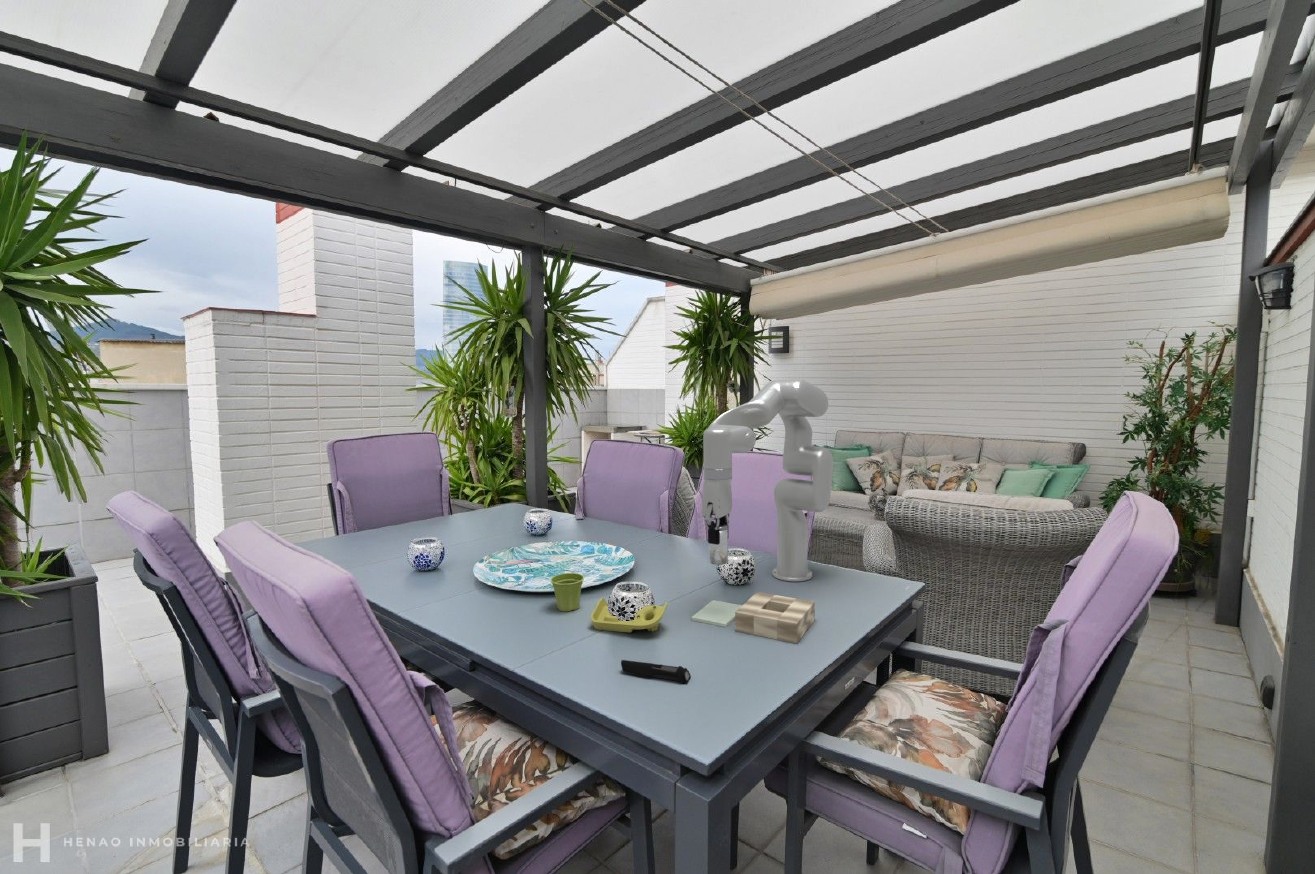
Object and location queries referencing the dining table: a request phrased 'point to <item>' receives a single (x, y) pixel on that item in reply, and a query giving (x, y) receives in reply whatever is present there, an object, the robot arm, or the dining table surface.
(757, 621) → the bore block
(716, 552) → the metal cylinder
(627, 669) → the electric trimmer
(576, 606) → the plant pot
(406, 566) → the dining table surface
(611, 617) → the plastic component
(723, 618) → the mat
